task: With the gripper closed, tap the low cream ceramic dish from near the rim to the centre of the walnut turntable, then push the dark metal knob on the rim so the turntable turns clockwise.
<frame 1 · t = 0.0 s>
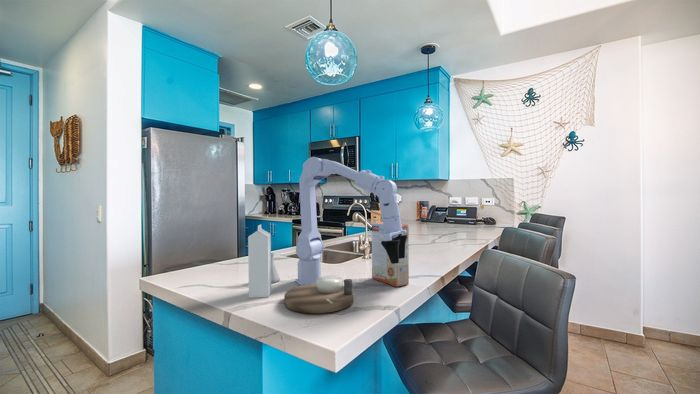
hand: (398, 260, 99), 11 cm above the counter, tool pointing down, fingers open, 7 cm apart
turntable: (319, 290, 93), point 3 cm above the counter, hinge at 0.0°, touching dish
cracker box: (389, 282, 113), on the counter
flask: (269, 281, 115), on the counter
milk: (260, 295, 100), on the counter
dish: (329, 289, 97), point 2 cm above the counter, touching turntable
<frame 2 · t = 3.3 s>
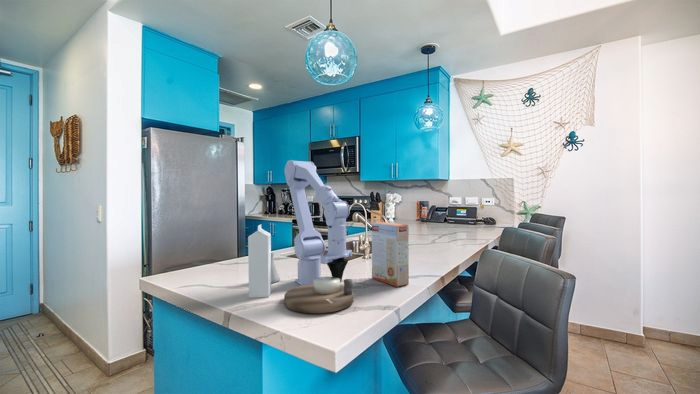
hand: (337, 282, 100), 4 cm above the counter, tool pointing down, fingers closed
turntable: (319, 290, 93), point 3 cm above the counter, hinge at 0.0°
dish: (327, 289, 96), point 3 cm above the counter, touching gripper
everything else where it was.
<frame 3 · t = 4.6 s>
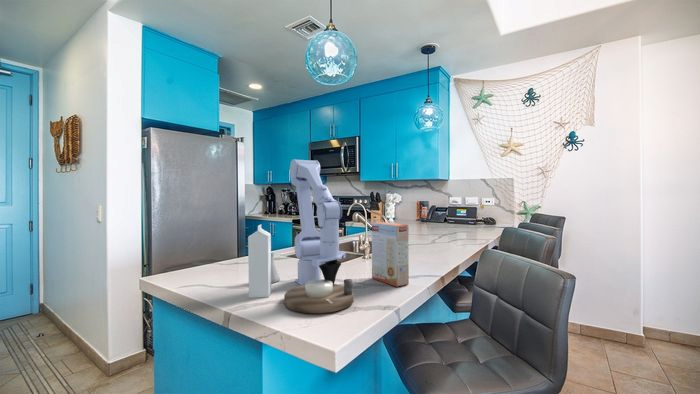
hand: (329, 285, 97), 4 cm above the counter, tool pointing down, fingers closed
turntable: (319, 290, 93), point 3 cm above the counter, hinge at 0.0°, touching dish
dish: (319, 293, 93), point 2 cm above the counter, touching turntable
everything else where it was.
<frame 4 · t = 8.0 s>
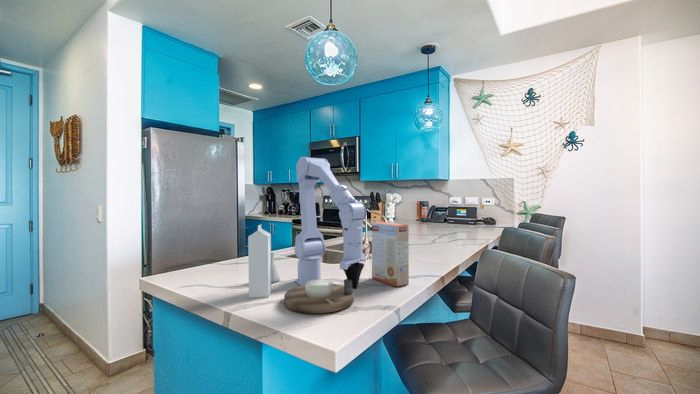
hand: (353, 288, 95), 3 cm above the counter, tool pointing down, fingers closed
turntable: (319, 290, 93), point 3 cm above the counter, hinge at 0.0°, touching dish, gripper
everything else where it was.
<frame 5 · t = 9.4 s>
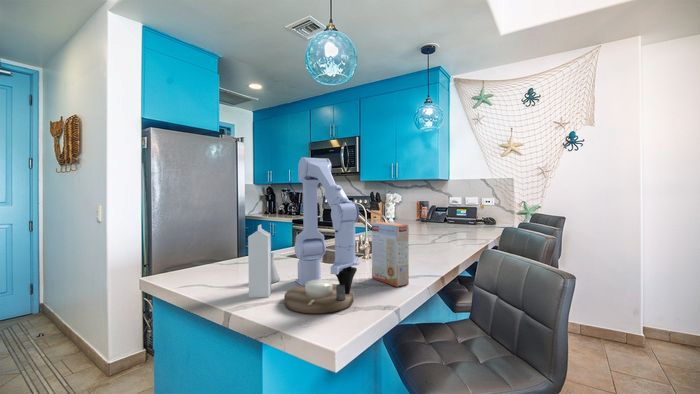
hand: (345, 293, 89), 3 cm above the counter, tool pointing down, fingers closed
turntable: (319, 290, 93), point 3 cm above the counter, hinge at -37.0°, touching dish, gripper
everything else where it was.
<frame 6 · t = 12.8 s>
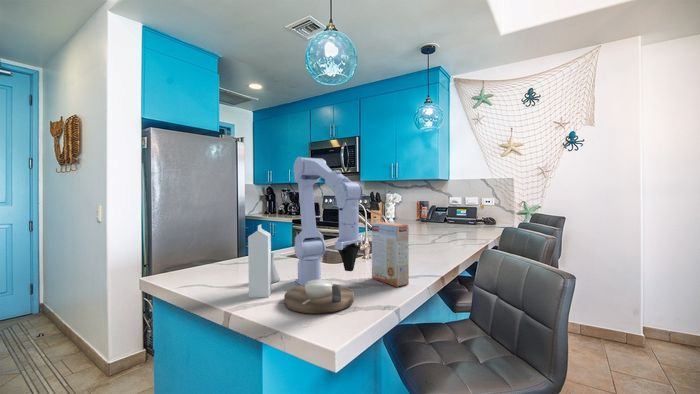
hand: (349, 270, 92), 9 cm above the counter, tool pointing down, fingers closed
turntable: (319, 290, 93), point 3 cm above the counter, hinge at -47.5°, touching dish
everything else where it was.
at the end: dish 0.1 cm from the turntable (horizontally); turntable at -48° (first picture: +0°); dish point 2.5 cm above the counter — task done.
